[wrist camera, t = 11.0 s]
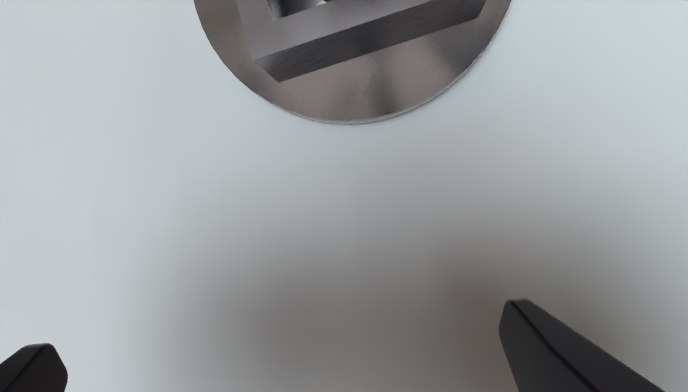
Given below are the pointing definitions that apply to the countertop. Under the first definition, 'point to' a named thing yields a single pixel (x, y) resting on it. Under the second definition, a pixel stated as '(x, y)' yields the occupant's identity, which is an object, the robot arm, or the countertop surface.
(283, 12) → the square socket on disc
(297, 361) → the countertop surface
